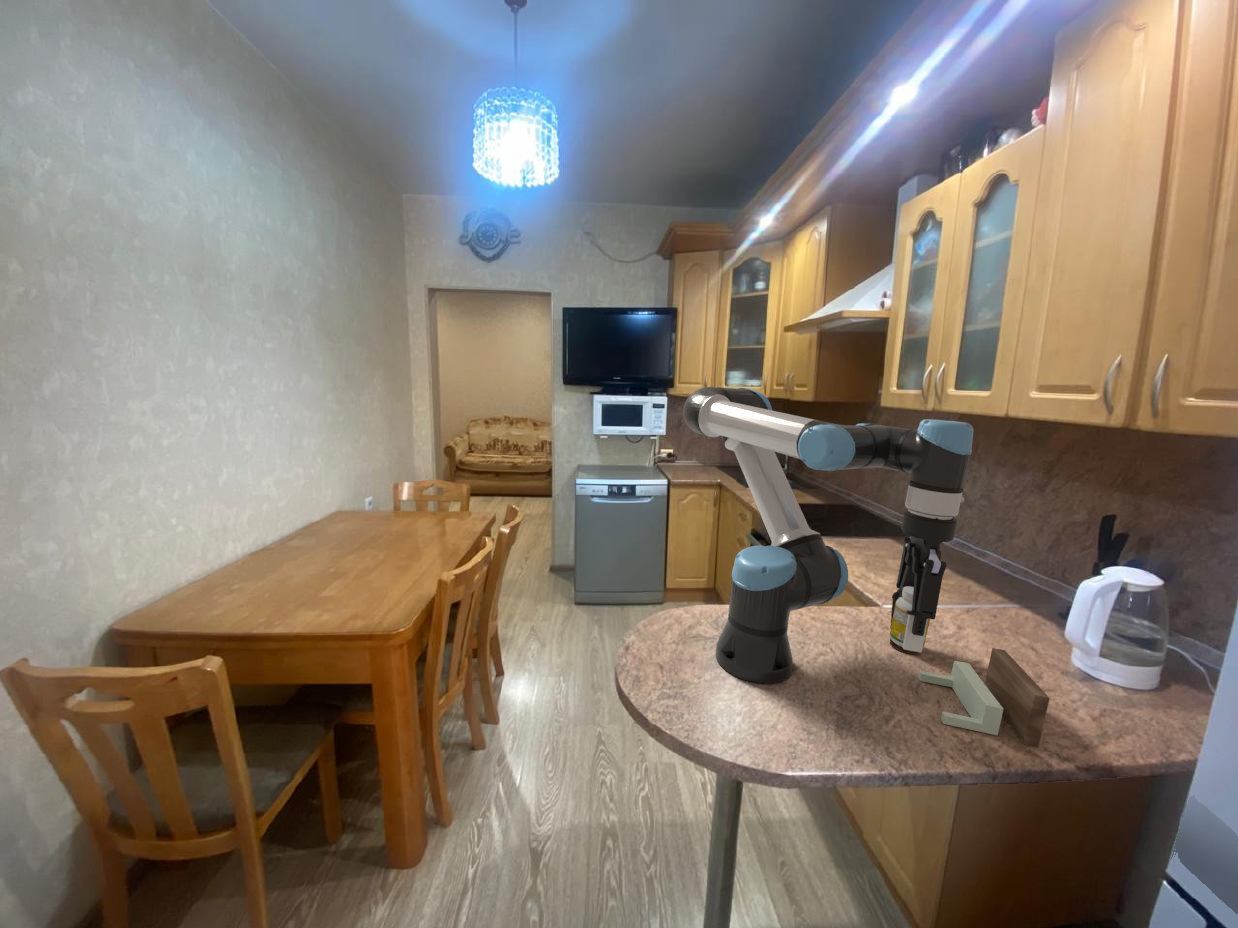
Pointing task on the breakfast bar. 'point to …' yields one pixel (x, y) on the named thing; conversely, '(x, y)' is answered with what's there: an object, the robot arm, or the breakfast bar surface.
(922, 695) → the breakfast bar surface
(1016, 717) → the backstop wall
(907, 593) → the supplement bottle
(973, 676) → the slot block
